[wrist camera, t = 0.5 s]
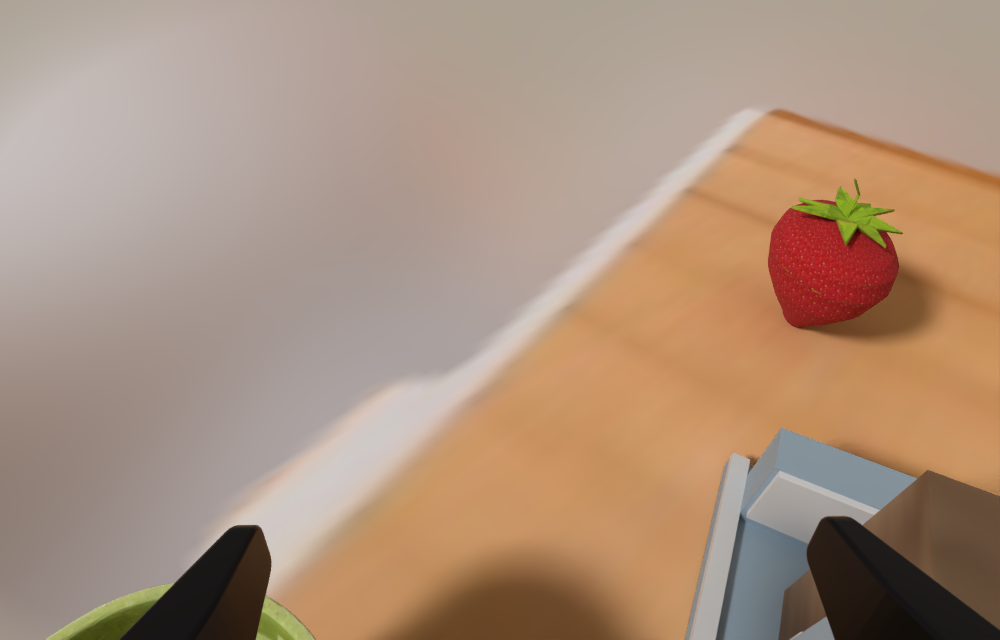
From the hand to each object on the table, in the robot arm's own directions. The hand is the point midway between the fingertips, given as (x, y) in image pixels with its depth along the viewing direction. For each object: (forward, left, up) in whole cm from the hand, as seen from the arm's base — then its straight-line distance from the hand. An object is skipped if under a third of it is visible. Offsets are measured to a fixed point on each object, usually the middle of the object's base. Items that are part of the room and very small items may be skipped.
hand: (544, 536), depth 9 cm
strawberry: (+15, -22, -16) cm, 31 cm away
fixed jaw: (+2, -16, -16) cm, 22 cm away
